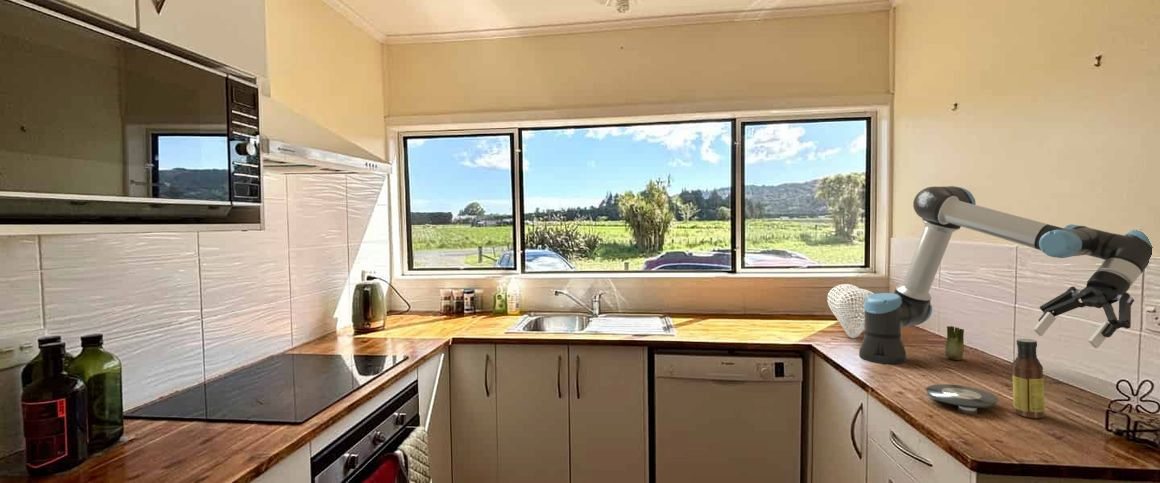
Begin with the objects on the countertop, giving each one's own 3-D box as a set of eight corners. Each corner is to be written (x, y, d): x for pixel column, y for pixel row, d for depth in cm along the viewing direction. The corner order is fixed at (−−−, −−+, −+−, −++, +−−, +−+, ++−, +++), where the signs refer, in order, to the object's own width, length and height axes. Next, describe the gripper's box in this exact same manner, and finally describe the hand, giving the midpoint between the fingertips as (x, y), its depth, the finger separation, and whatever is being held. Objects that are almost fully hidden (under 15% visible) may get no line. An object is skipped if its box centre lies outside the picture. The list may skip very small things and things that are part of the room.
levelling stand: (912, 396, 151) (912, 386, 151) (961, 392, 153) (961, 382, 153) (960, 417, 135) (961, 405, 135) (1013, 412, 138) (1014, 401, 137)
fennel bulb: (966, 361, 184) (966, 328, 183) (950, 361, 184) (951, 328, 184) (956, 357, 189) (957, 324, 189) (942, 357, 190) (942, 324, 190)
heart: (822, 330, 236) (822, 282, 235) (858, 330, 234) (858, 282, 233) (845, 345, 209) (845, 291, 208) (886, 346, 207) (887, 291, 206)
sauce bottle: (1044, 414, 136) (1046, 339, 135) (1044, 421, 131) (1045, 344, 130) (1012, 408, 140) (1013, 336, 139) (1010, 415, 136) (1012, 340, 135)
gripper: (1181, 295, 126) (1128, 360, 125) (1070, 282, 151) (1025, 336, 149) (1163, 274, 125) (1110, 339, 124) (1054, 265, 150) (1009, 319, 148)
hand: (1063, 338), depth 136 cm, fingers open, 13 cm apart
